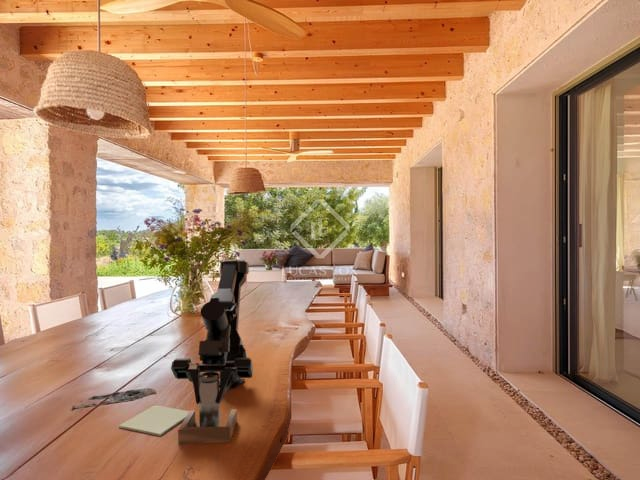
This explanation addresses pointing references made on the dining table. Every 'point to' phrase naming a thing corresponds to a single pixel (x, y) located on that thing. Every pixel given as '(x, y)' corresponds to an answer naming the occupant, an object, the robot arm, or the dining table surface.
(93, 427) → the dining table surface
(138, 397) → the driftwood
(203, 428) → the cubby
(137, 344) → the dining table surface
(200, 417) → the canister
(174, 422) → the tile
